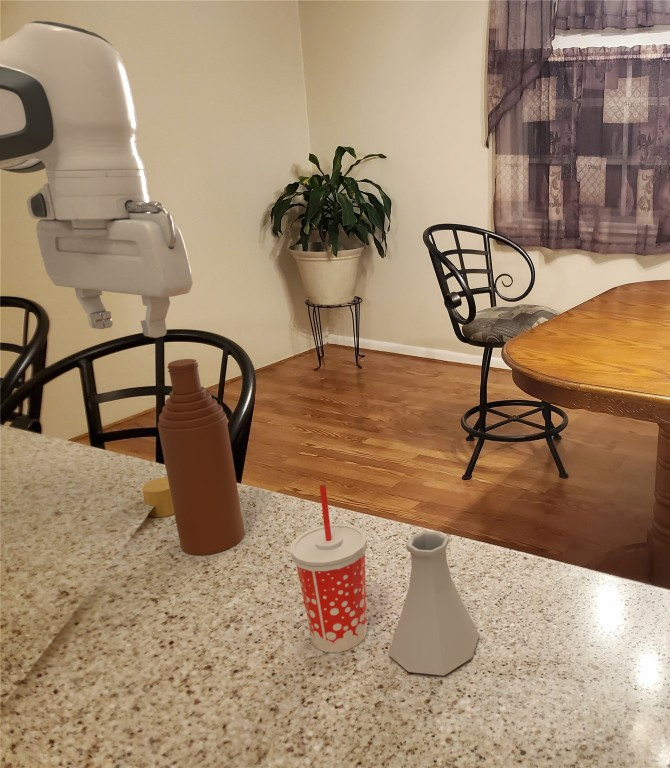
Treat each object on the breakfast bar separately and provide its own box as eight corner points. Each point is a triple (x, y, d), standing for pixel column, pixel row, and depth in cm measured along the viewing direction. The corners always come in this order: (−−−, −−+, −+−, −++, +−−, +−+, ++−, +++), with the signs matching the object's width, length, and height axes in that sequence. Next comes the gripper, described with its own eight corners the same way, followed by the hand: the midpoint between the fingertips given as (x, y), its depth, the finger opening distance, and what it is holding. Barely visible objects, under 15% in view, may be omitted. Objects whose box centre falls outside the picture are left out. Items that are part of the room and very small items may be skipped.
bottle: (173, 558, 71) (136, 373, 65) (189, 528, 77) (158, 356, 71) (238, 551, 72) (208, 368, 66) (249, 522, 78) (223, 352, 72)
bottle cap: (190, 501, 83) (185, 476, 82) (175, 517, 79) (170, 491, 78) (157, 501, 83) (152, 477, 82) (140, 518, 79) (135, 492, 78)
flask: (372, 660, 55) (361, 552, 52) (423, 610, 61) (416, 511, 58) (447, 689, 52) (440, 575, 49) (494, 634, 58) (490, 529, 55)
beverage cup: (388, 618, 61) (375, 473, 56) (354, 664, 55) (337, 508, 51) (326, 607, 62) (309, 466, 58) (288, 651, 57) (265, 499, 52)
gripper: (196, 199, 68) (217, 335, 72) (77, 198, 78) (100, 318, 82) (137, 203, 63) (163, 348, 67) (16, 201, 72) (45, 329, 77)
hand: (127, 332), depth 75 cm, fingers open, 8 cm apart
